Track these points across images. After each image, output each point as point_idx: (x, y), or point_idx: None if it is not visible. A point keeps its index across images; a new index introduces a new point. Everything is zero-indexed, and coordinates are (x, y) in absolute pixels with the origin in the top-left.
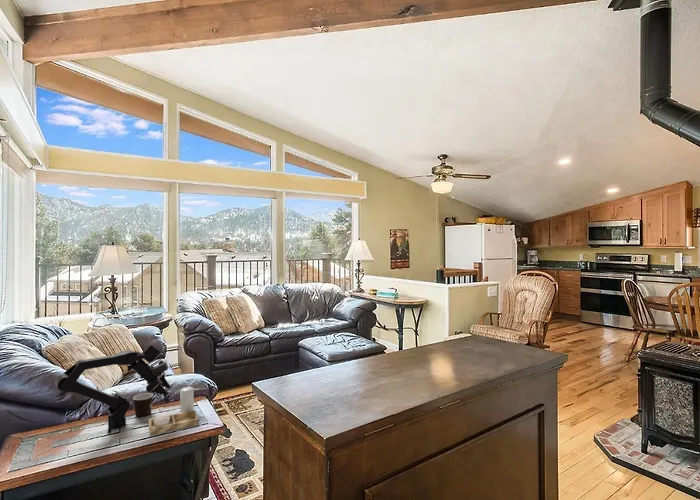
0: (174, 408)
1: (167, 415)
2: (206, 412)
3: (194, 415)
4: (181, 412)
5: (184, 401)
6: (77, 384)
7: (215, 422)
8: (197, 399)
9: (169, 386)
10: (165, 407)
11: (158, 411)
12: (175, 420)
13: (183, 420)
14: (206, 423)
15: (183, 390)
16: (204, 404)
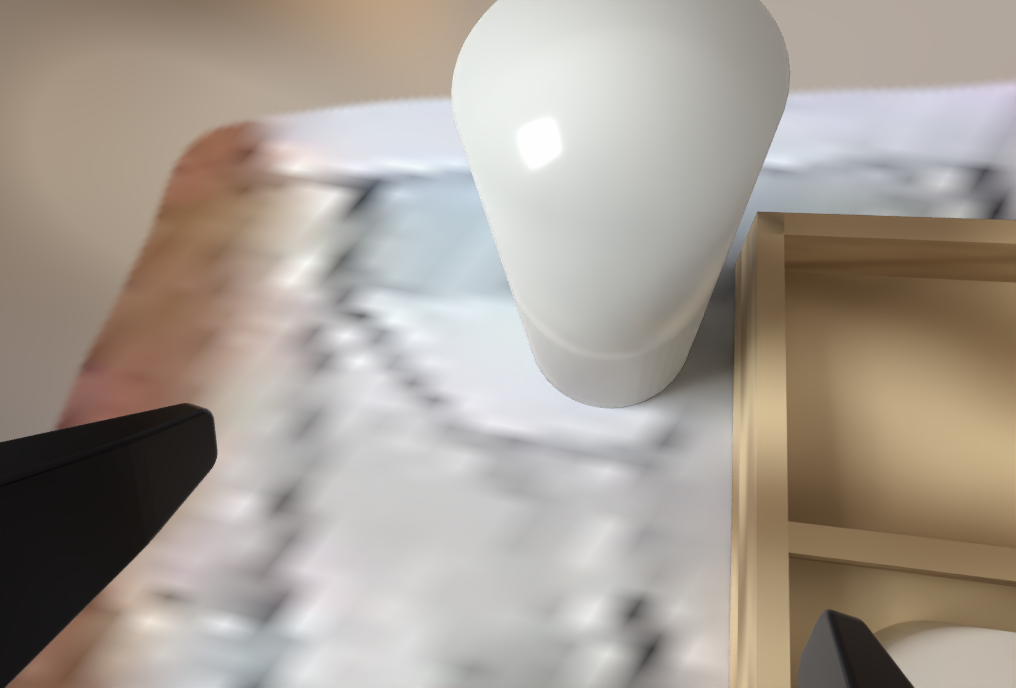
0: (285, 423)
1: (938, 659)
2: None
3: (905, 250)
4: (643, 383)
5: (718, 271)
6: None
7: (1006, 98)
8: (221, 159)
9: (180, 435)
10: (172, 516)
11: (231, 630)
12: (790, 504)
13: (849, 406)
14: (989, 183)
15: (646, 151)
16: (408, 120)
